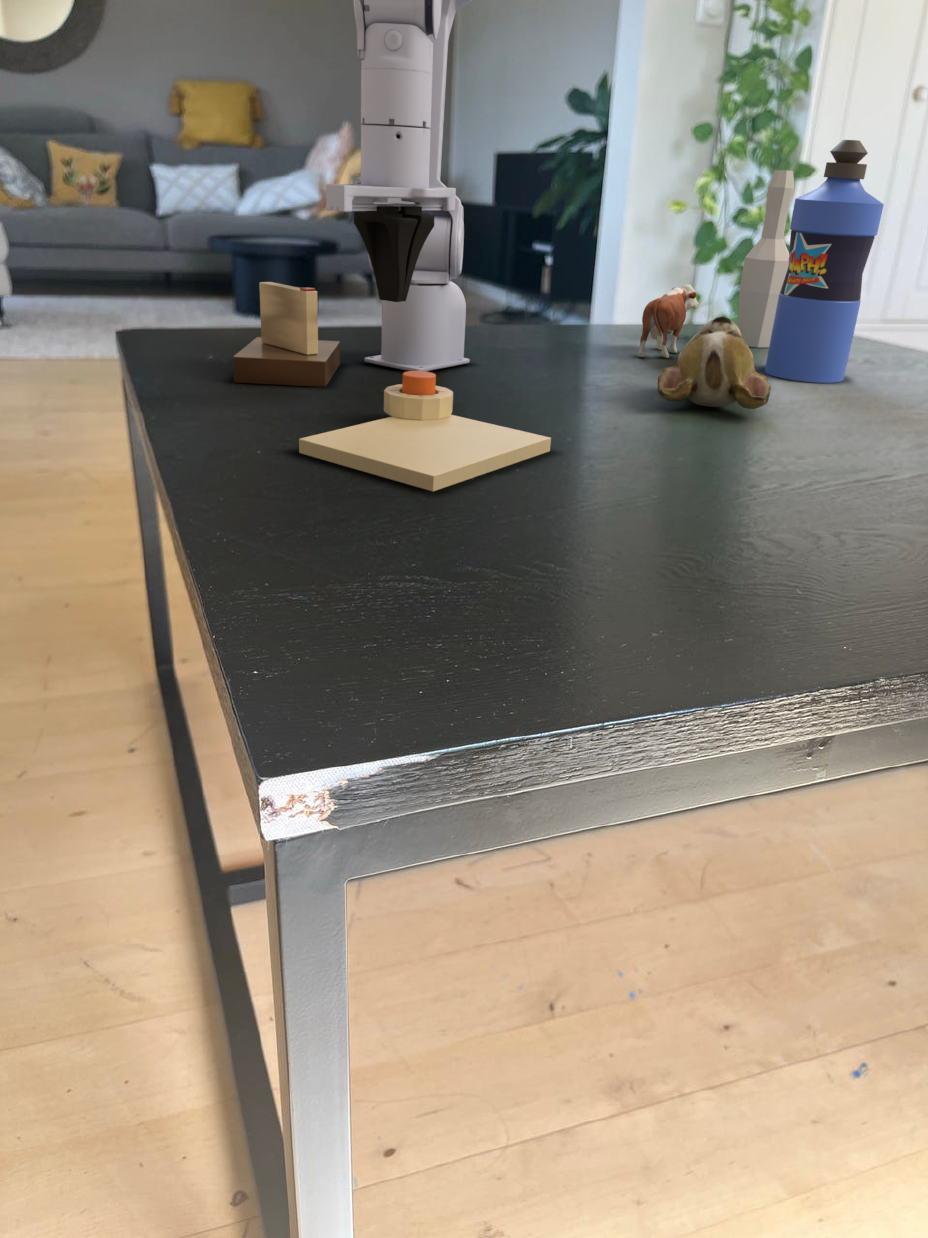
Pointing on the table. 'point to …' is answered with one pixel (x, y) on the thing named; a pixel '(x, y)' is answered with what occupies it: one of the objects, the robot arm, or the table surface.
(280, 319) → the light wood flat panel
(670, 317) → the bull figurine
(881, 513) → the table surface
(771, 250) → the low poly bottle
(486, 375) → the table surface
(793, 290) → the water bottle
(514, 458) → the beige button base
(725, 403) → the ceramic sculpture
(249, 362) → the stand
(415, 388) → the button
